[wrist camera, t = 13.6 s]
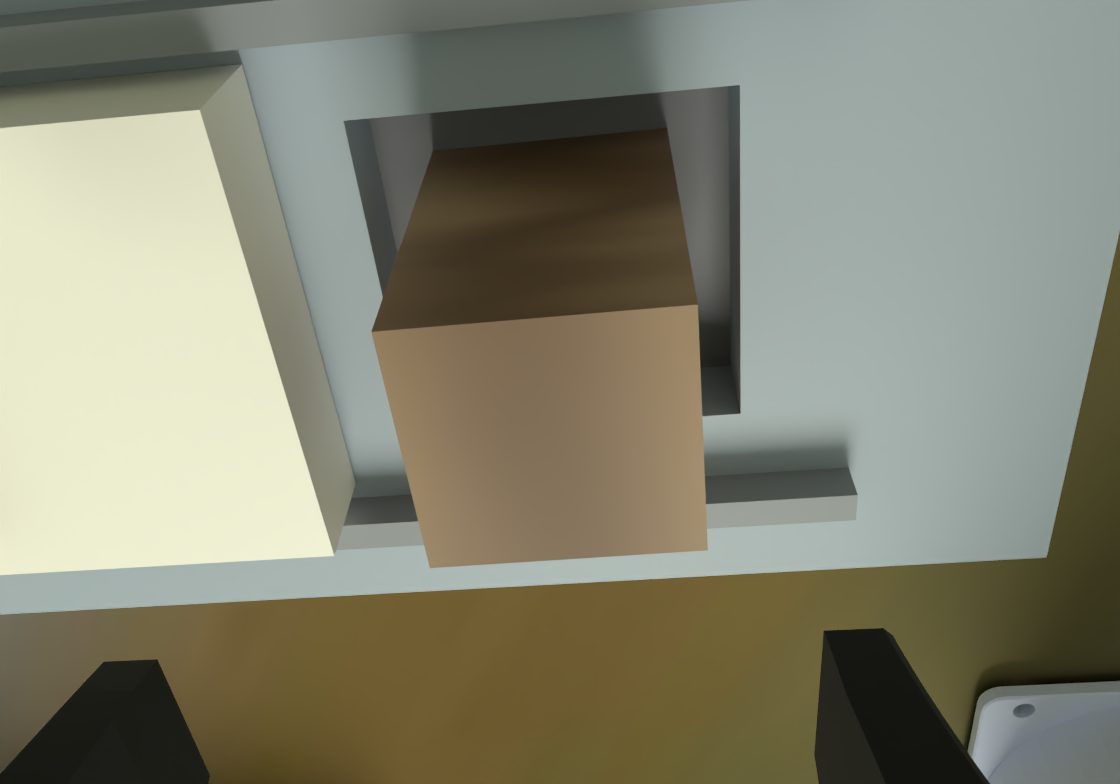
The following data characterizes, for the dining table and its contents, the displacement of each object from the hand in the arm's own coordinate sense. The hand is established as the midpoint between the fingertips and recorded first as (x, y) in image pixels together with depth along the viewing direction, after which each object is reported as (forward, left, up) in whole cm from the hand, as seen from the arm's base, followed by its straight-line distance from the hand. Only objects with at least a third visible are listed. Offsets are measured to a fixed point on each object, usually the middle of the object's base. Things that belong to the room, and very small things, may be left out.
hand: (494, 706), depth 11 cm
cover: (+8, -1, -8) cm, 11 cm away
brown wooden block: (-1, -1, -10) cm, 10 cm away
